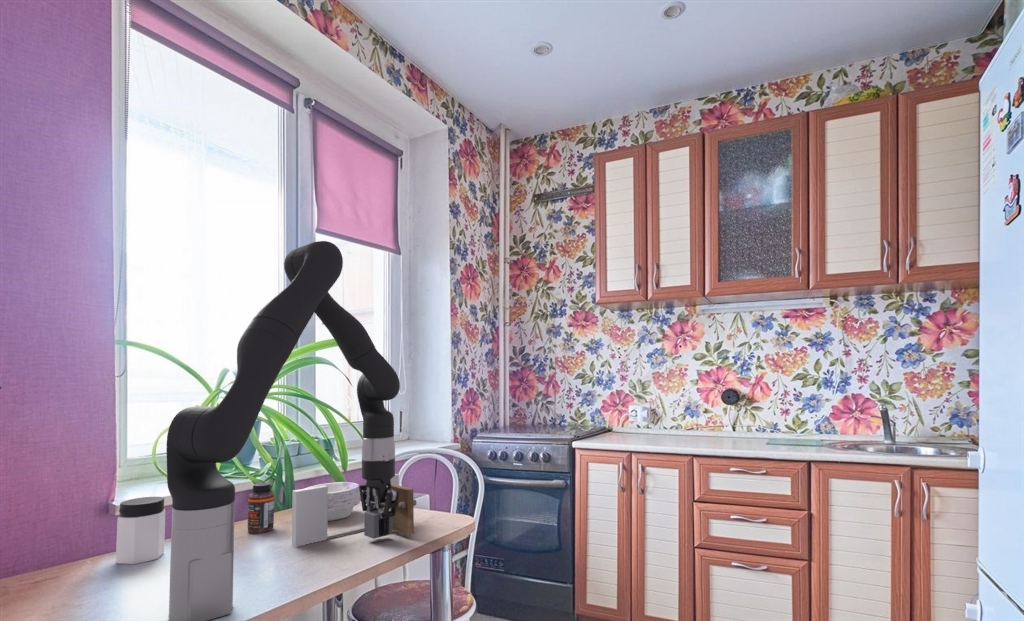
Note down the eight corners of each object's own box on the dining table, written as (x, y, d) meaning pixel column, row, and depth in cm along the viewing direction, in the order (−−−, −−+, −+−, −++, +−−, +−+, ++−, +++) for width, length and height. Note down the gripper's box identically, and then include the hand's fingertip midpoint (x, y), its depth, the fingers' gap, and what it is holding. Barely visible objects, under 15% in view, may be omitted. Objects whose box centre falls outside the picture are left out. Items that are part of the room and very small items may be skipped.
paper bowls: (291, 517, 156) (291, 487, 157) (344, 507, 166) (344, 479, 167) (315, 528, 145) (315, 495, 146) (370, 516, 155) (370, 486, 156)
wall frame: (399, 522, 148) (398, 474, 150) (295, 547, 130) (296, 491, 131) (394, 521, 150) (394, 473, 151) (291, 545, 131) (292, 490, 132)
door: (385, 521, 146) (385, 480, 147) (417, 531, 136) (417, 488, 137) (371, 525, 143) (371, 483, 144) (403, 535, 133) (403, 490, 134)
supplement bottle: (241, 533, 142) (242, 485, 143) (259, 526, 148) (260, 481, 149) (262, 534, 140) (263, 486, 141) (278, 528, 146) (279, 481, 147)
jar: (125, 554, 127) (127, 497, 129) (167, 550, 130) (169, 494, 131) (110, 567, 119) (112, 506, 120) (155, 562, 121) (157, 503, 122)
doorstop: (392, 533, 133) (392, 511, 134) (373, 538, 130) (373, 515, 130) (383, 530, 136) (383, 508, 137) (364, 535, 133) (364, 512, 133)
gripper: (348, 456, 137) (348, 531, 135) (380, 462, 127) (380, 543, 125) (376, 452, 142) (376, 524, 141) (409, 457, 132) (410, 535, 131)
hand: (378, 533), depth 133 cm, fingers closed on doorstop, 4 cm apart
